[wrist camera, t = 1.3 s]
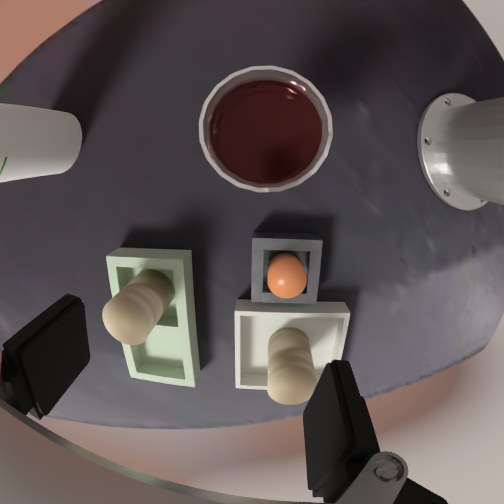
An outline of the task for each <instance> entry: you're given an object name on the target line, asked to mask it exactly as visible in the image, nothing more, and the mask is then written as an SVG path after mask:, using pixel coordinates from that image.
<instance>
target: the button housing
mask: <svg viewBox="0 0 504 504" xmlns="http://www.w3.org/2000/svg"><path fill="white" fill-rule="evenodd" d="M322 243H323V240H322V239H321V237H320V236H319V235H318V234H311V233H286V232H256V231H254V233H253V237H252V282H251V302H264V303H299V304H316V302H317V293H318V284H319V275H320V265H321V254H322ZM280 253H292V254H294V255H296V256H297V257H298V258H299V259H300V260H301V262H302V264H303V267H304V270H305V273H306V277H307V283H306V286H305V288H304V290H303V291H302V292H301V293H300V294H299V295H297V296H295V297H293V298H281V297H278V296H276V295H275V294H273V293H272V291H271V290H270V288H269V286H268V265H269V263H270V261H271V259H272V258H273V257H275V256H276V255H278V254H280Z"/></svg>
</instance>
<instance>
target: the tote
mask: <svg viewBox="0 0 504 504" xmlns="http://www.w3.org/2000/svg"><path fill="white" fill-rule="evenodd" d="M349 318H350V311H349V309H348V307H347V306H346V304H345V302H316V304H299V303H264V302H251V300H245V299H237V303H236V308H235V370H236V388H245V389H267V380H268V341H269V339H270V337H271V335H272V334H273V333H274V332H276V331H277V330H279V329H282V328H287V327H293V328H297V329H300V330H302V331H303V332H304V333H305V334H306V335H307V337H308V339H309V344H310V349H311V354H312V359H313V364H314V369H315V374H316V379H317V383H318V381H319V379H320V377H321V374H322V372H323V370H324V368H325V366H326V364H327V363H328V362H329V363H331V362H332V360H334V359H336V360H341V357H342V353H343V348H344V343H345V339H346V334H347V329H348V324H349Z"/></svg>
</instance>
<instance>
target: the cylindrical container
mask: <svg viewBox="0 0 504 504" xmlns="http://www.w3.org/2000/svg"><path fill="white" fill-rule="evenodd" d="M81 144H82V130H81V126H80V123H79V121H78V119H77V118H76V117H75V116H74V115H72V114H70V113H67V112H62V111H56V110H49V109H43V108H36V107H29V106H21V105H12V104H2V103H0V182H5V181H11V180H17V179H23V178H30V177H37V176H44V175H52V174H60V173H63V172H65V171H67V170H68V169H69V168H70V167H71V166H72V165H73V164H74V162H75V161H76V159H77V157H78V155H79V152H80V149H81Z"/></svg>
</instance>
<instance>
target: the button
mask: <svg viewBox="0 0 504 504" xmlns="http://www.w3.org/2000/svg"><path fill="white" fill-rule="evenodd" d="M306 283H307V277H306V273H305V270H304V267H303V264H302V262H301V260H300V259H299V258H298V257H297V256H296V255H294V254H292V253H280V254H278V255H276V256H275V257H273V258H272V259H271V261H270V263H269V265H268V286H269V288H270V290H271V291H272V293H273V294H275V295H276V296H278V297H281V298H293V297H295V296H297V295H299V294H300V293H301V292H302V291H303V290H304V288H305V286H306Z"/></svg>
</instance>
